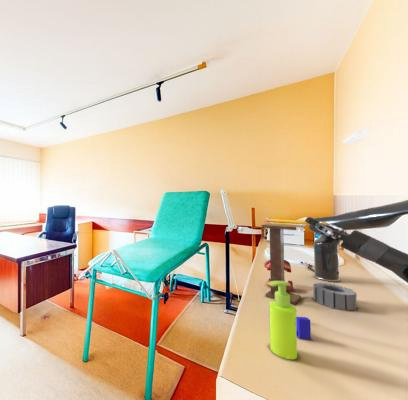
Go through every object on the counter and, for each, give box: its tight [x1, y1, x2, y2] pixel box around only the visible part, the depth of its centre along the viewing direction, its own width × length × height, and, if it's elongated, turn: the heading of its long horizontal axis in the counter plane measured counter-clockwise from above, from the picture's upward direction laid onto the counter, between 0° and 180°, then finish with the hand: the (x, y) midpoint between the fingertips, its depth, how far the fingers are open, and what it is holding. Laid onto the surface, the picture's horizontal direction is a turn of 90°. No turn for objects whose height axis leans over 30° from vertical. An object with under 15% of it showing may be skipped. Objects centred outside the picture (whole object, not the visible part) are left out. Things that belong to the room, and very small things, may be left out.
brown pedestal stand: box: [261, 222, 304, 306], centre depth 94 cm, size 12×10×32 cm
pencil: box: [264, 218, 327, 226], centre depth 91 cm, size 20×1×1 cm, turn 35°
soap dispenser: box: [266, 280, 298, 360], centre depth 61 cm, size 6×7×20 cm
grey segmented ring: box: [312, 282, 357, 311], centre depth 88 cm, size 12×12×6 cm
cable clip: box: [296, 316, 312, 340], centre depth 72 cm, size 12×4×6 cm, turn 168°
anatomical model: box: [263, 259, 294, 293], centre depth 104 cm, size 10×8×15 cm
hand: (307, 219), depth 88 cm, fingers closed on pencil, 1 cm apart
